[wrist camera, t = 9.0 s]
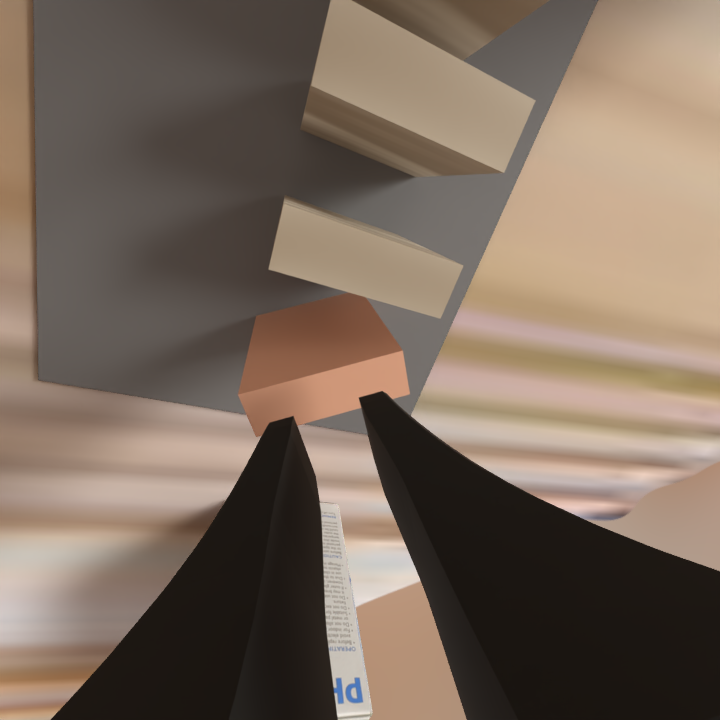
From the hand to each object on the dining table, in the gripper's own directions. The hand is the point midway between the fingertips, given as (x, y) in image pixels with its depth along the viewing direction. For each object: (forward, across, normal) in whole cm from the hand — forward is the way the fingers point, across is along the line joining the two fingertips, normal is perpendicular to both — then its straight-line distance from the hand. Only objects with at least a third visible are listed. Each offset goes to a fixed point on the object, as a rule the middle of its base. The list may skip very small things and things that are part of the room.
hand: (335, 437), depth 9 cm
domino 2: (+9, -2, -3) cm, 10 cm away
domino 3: (+9, 0, 0) cm, 9 cm away
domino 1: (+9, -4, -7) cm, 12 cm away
